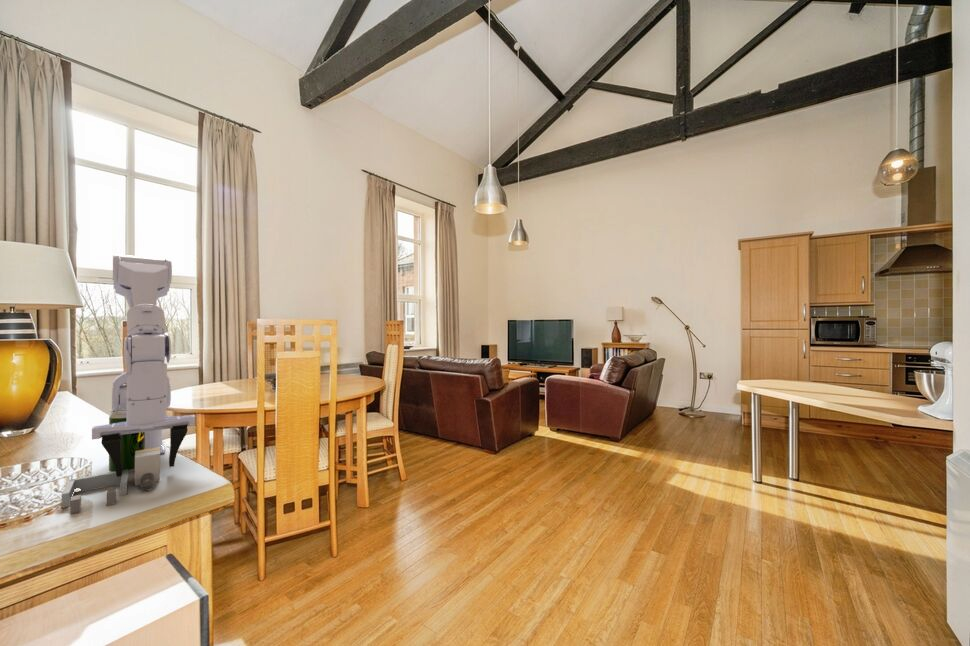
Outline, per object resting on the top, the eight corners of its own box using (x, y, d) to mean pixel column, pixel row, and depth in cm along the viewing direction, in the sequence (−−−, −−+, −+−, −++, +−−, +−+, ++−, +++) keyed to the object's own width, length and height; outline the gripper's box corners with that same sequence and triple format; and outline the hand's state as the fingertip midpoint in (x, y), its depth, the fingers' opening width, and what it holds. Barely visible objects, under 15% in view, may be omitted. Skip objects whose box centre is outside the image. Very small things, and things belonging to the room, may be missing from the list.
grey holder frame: (68, 492, 67) (68, 479, 67) (128, 481, 72) (128, 469, 72) (57, 516, 59) (57, 502, 59) (125, 501, 64) (125, 488, 64)
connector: (135, 477, 74) (135, 450, 74) (159, 472, 76) (159, 446, 76) (133, 494, 67) (134, 465, 67) (160, 489, 69) (160, 460, 69)
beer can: (105, 477, 74) (105, 414, 74) (112, 468, 78) (112, 408, 78) (142, 471, 77) (143, 411, 77) (147, 463, 81) (147, 406, 81)
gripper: (90, 406, 66) (89, 487, 65) (197, 396, 75) (196, 466, 75) (94, 399, 71) (93, 474, 71) (193, 391, 80) (193, 457, 80)
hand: (146, 470), depth 73 cm, fingers open, 7 cm apart
